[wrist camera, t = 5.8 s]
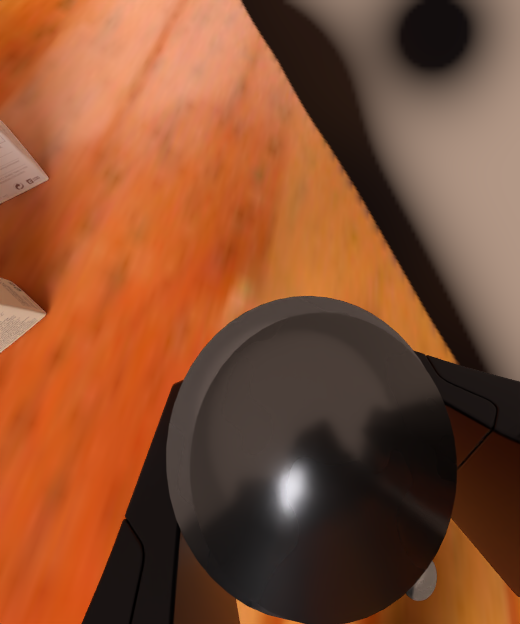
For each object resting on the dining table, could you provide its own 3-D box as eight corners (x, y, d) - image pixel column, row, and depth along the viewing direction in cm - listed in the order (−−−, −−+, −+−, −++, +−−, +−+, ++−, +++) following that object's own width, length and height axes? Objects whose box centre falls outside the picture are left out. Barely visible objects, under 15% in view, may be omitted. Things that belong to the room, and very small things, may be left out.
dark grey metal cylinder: (297, 397, 14) (537, 526, 3) (229, 432, 13) (244, 782, 2) (267, 330, 15) (386, 249, 4) (200, 359, 14) (105, 361, 3)
